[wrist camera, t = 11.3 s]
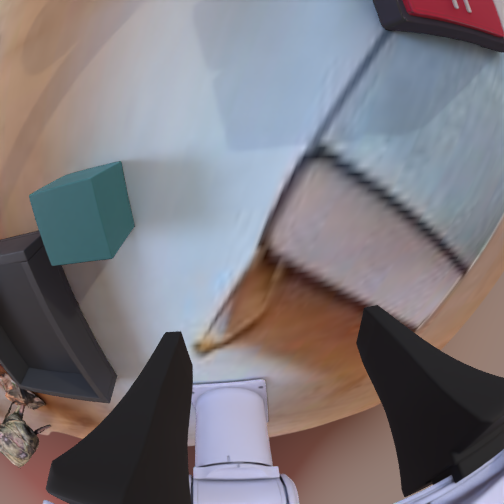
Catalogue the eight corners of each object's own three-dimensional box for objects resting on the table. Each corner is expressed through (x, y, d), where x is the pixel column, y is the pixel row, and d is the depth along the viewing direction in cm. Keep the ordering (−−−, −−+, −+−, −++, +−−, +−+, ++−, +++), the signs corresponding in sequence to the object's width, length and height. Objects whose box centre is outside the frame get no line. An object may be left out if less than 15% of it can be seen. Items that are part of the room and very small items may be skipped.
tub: (117, 376, 25) (109, 403, 22) (30, 367, 24) (20, 388, 21) (48, 228, 17) (23, 250, 14) (-35, 249, 16) (-55, 267, 13)
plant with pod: (36, 414, 30) (11, 507, 12) (-9, 369, 25) (-50, 468, 7) (64, 416, 30) (39, 524, 12) (13, 368, 24) (-32, 485, 7)
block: (135, 226, 18) (112, 259, 14) (81, 234, 17) (51, 266, 14) (121, 160, 16) (91, 177, 12) (65, 175, 15) (28, 195, 11)
